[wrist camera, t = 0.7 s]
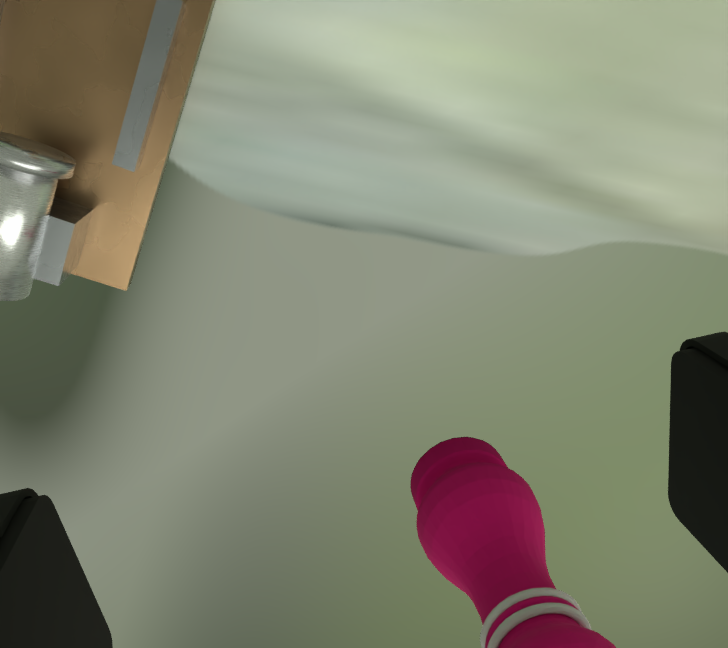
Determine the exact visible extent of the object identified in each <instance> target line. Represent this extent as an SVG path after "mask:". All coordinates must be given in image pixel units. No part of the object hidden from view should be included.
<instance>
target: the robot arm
mask: <svg viewBox="0 0 728 648" xmlns="http://www.w3.org/2000/svg"><path fill="white" fill-rule="evenodd" d="M669 439H670V440H669V480H668V497H669V501H670V505H671V508H672V510H673V512H674V514H675V516H676V517H677V518H678V519H679V521H680V522H681V523H682V524H683V525H684V526H685V527H686V528H687V529H688V530H689V531H690V533H691V534H692V535H693V536H694V537H695V538H696V539H697V540H698V541H699V542H700V543H701V544H702V545H703V547H704V548H706V550H707V551H708V552H709V553H710V554H711V555H712V556H713V557H714V558H715V560H716V561H717V562H718V563H719V564H720V565H721V566H722V567H723V568H724V569H725V570H726V571H727V572H728V333H727V332H719V333H715V334H711V335H706V336H701V337H697V338H692V339H688V340H686V341H685V342H683V343H682V345H681V348H680V351H678V352H676V353H675V354H674V355H673V357H672V362H671V396H670V438H669ZM0 648H112V638H111V633H110V630H109V628H108V625H107V623H106V621H105V619H104V616H103V614H102V612H101V610H100V607H99V605H98V603H97V601H96V598H95V596H94V594H93V592H92V589H91V588H90V585H89V583H88V581H87V578H86V576H85V574H84V571H83V569H82V567H81V565H80V563H79V560H78V558H77V556H76V554H75V551H74V549H73V547H72V545H71V542H70V540H69V538H68V536H67V533H66V531H65V529H64V527H63V524H62V522H61V520H60V518H59V515H58V513H57V511H56V509H55V506H54V504H53V503H52V501H51V499H50V498H49V497H48V496H46V495H42V496H38V495H37V493H36V492H35V491H34V490H33V489H29V488H26V489H21V490H18V491H13V492H8V493H4V494H0Z"/></svg>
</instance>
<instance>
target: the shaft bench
mask: <svg viewBox="0 0 728 648" xmlns="http://www.w3.org/2000/svg"><path fill="white" fill-rule="evenodd" d="M215 1H216V0H0V300H6V301H8V300H9V301H12V300H21V299H24V298H27V297H28V296H29V294H30V290H31V286H32V282H33V278H34V279H37V280H40V281H44V282H47V283H50V284H53V285H57V286H59V285H60V284H61V283H62V282H63V281H64V280H65V279H66V278H67V277H68V276H69V274H74V275H78V276H81V277H84V278H87V279H90V280H93V281H97V282H100V283H103V284H107V285H109V286H113V287H116V288H119V289H122V290H127V289H128V287H129V286H130V284H131V281H132V278H133V274H134V271H135V268H136V264H137V261H138V258H139V254H140V251H141V248H142V244H143V241H144V237H145V234H146V231H147V227H148V224H149V221H150V217H151V214H152V211H153V208H154V204H155V201H156V197H157V194H158V190H159V188H160V184H161V181H162V177H163V174H164V171H165V167H166V164H167V161H168V157H169V154H170V151H171V147H172V144H173V141H174V137H175V134H176V131H177V127H178V124H179V121H180V117H181V114H182V111H183V107H184V104H185V101H186V97H187V94H188V91H189V87H190V84H191V81H192V77H193V74H194V71H195V67H196V64H197V61H198V57H199V54H200V51H201V47H202V44H203V41H204V37H205V34H206V31H207V27H208V24H209V21H210V17H211V14H212V11H213V7H214V4H215Z"/></svg>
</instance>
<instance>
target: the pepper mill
mask: <svg viewBox="0 0 728 648" xmlns="http://www.w3.org/2000/svg"><path fill="white" fill-rule="evenodd" d="M411 492H412V496H413V499H414V501H415V504H416V507H417V510H418V514H417V531H418V537H419V539H420V542H421V544H422V547H423V549H424V551H425V553H426V554H427V557H428V558H429V560H430V561H431V562H432V563H433V565H434V566H435V567H436V568H437V569H438V571H439V572H440V573H441V574H442V575H443V576H444V577H445V578H446V579H447V580H449V581H450V582H452V583H453V584H454V585H455V586H457V587H458V588H460V589H461V590H462V591H464V592H465V593H466V594H467V595H468V596H469V597H470V598H471V600H472V601H473V603H474V604H475V607H476V609H477V611H478V613H479V615H480V617H481V620H482V623H483V626H482V629H481V633H480V644H481V648H616V647H615V646H614V645H613V644H612V643H611V642H610V641H608V640H607V639H605V638H604V637H603V636H601V635H600V634H599V633H597V632H594V631H592V630H591V626H590V623H589V622H588V620H587V618H586V617H585V616H584V615H583V614H582V611H581V609H580V606H579V605H578V603H577V602H576V601H575V600H574V598H573V597H571V596H570V595H569V594H567V593H565V592H563V591H560V590H557V589H556V588H555V586H554V584H553V582H552V580H551V578H550V576H549V573H548V569H547V566H546V560H545V530H544V525H543V519H542V515H541V510H540V507H539V505H538V502H537V500H536V498H535V496H534V494H533V492H532V490H531V488H530V487H529V485H528V484H527V482H526V481H525V480H524V479H523V478H522V477H521V476H519V475H518V474H517V473H515V472H514V471H513V470H510V469H508V467H507V466H506V464H505V462H504V461H503V459H502V458H501V456H500V454H499V453H498V452H497V451H496V449H495V448H493V447H492V446H491V445H490V444H488V443H487V442H485V441H483V440H479V439H475V438H471V437H461V438H452V439H449V440H446V441H443V442H440V443H439V444H437V445H435V446H434V447H432V448H431V449H429V450H428V451H427V452H426V453H425V454H424V455H423V456H422V457H421V458H420V459H419V461H418V463H417V464H416V466H415V468H414V470H413V473H412V477H411Z"/></svg>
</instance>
